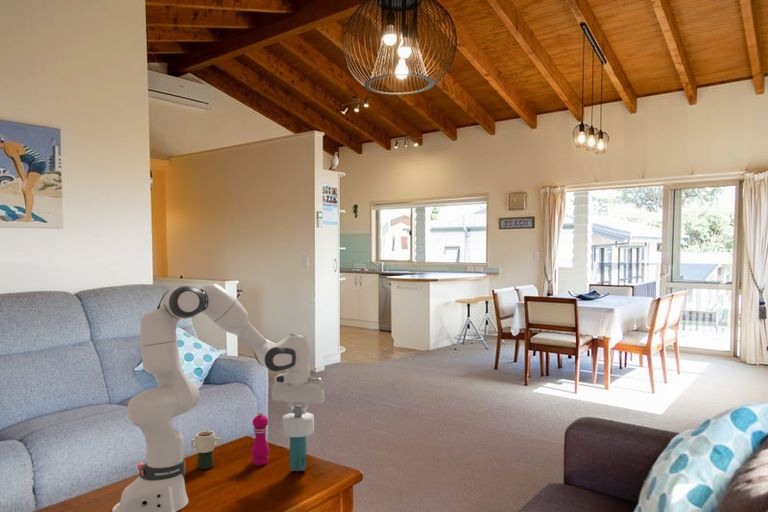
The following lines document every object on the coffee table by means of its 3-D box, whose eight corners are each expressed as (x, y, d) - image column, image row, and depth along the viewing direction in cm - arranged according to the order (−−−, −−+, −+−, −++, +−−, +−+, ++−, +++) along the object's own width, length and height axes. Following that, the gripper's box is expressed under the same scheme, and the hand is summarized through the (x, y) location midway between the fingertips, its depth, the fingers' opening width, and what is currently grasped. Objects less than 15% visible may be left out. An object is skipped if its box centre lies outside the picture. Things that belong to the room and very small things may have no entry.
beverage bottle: (303, 475, 192) (303, 422, 192) (286, 474, 193) (286, 420, 193) (309, 468, 198) (309, 416, 198) (292, 467, 200) (293, 415, 199)
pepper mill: (250, 459, 207) (250, 409, 207) (268, 457, 209) (268, 408, 210) (251, 466, 200) (251, 414, 201) (270, 464, 203) (270, 413, 203)
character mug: (221, 462, 204) (221, 429, 204) (218, 470, 197) (218, 435, 197) (192, 464, 202) (192, 431, 202) (188, 472, 195) (188, 437, 195)
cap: (288, 439, 188) (288, 412, 188) (278, 429, 198) (278, 404, 198) (318, 434, 193) (318, 407, 193) (307, 425, 203) (307, 400, 204)
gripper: (327, 376, 197) (327, 412, 196) (277, 373, 201) (276, 409, 201) (321, 380, 190) (321, 417, 190) (270, 377, 195) (269, 414, 195)
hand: (298, 413), depth 196 cm, fingers closed on cap, 3 cm apart
